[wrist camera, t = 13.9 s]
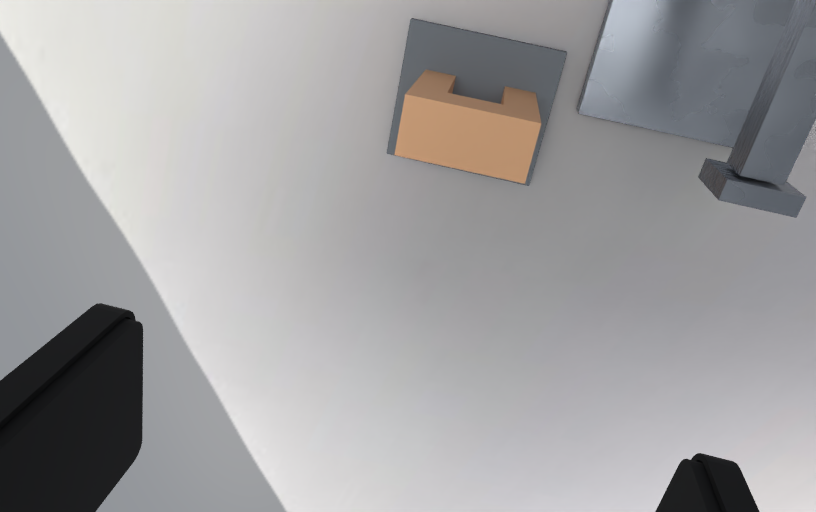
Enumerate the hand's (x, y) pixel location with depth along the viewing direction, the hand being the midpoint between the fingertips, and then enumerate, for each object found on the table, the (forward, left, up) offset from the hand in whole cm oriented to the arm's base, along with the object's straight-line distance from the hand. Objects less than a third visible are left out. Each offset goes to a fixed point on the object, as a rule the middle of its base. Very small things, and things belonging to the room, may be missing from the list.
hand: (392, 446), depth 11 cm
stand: (-11, -7, -30) cm, 33 cm away
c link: (0, 0, -30) cm, 30 cm away
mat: (0, 0, -30) cm, 30 cm away
